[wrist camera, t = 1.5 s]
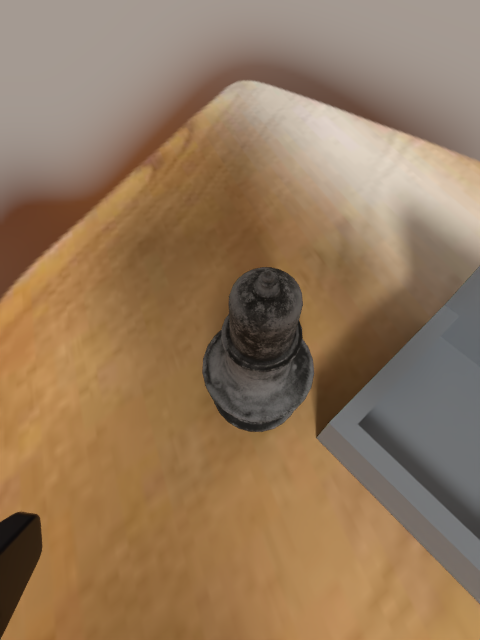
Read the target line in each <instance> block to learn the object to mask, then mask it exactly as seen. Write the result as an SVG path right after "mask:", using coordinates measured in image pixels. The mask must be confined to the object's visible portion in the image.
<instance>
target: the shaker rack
mask: <svg viewBox="0 0 480 640" xmlns="http://www.w3.org/2000/svg"><path fill="white" fill-rule="evenodd" d="M317 439H318V440H319V441H320V442H321V443H322V444H323V445H324V446H325V447H326V448H327V449H328V450H329V451H330V452H331V453H332V454H333V455H334V456H335V457H336V458H337V459H338V460H339V461H340V462H341V463H342V464H343V465H344V466H345V467H346V469H347V470H348V471H349V472H350V473H351V474H352V475H353V476H354V477H355V478H356V479H357V480H358V481H359V482H360V483H361V484H362V485H363V486H364V487H365V488H366V489H367V490H368V491H369V492H370V493H371V494H372V495H373V496H374V497H375V498H376V499H377V500H378V501H379V502H380V503H381V504H382V505H383V506H384V507H385V508H386V509H387V510H388V511H389V512H390V513H391V514H392V515H393V516H394V517H395V518H396V519H397V520H398V521H399V522H400V523H401V524H402V525H403V526H404V527H405V528H406V529H407V530H408V531H409V532H410V533H411V534H412V536H413V537H414V538H415V539H416V540H417V541H418V542H419V543H420V544H421V545H422V546H423V547H424V548H425V549H426V550H427V551H428V552H429V553H430V554H431V555H432V556H433V557H434V558H435V559H436V560H437V561H438V562H439V563H440V564H441V565H442V566H443V567H444V568H445V569H446V570H447V571H448V572H449V573H450V574H451V575H452V576H453V577H454V578H455V579H456V580H457V581H458V582H459V583H460V584H461V585H462V586H463V587H464V588H465V589H466V590H467V591H468V592H469V593H470V594H471V595H472V596H473V597H474V598H475V599H476V600H477V601H478V603H479V604H480V266H479V267H478V268H477V269H476V271H475V272H474V273H473V274H472V275H471V276H470V277H469V278H468V279H467V280H466V282H465V283H464V284H463V285H462V286H461V287H460V288H459V289H458V290H457V292H456V293H455V294H454V295H453V296H452V297H451V298H450V299H449V300H448V302H447V303H446V304H445V305H444V306H443V307H442V308H441V309H440V310H439V311H438V312H437V313H436V314H435V315H434V316H433V317H432V318H431V319H430V320H429V321H428V322H427V323H426V324H425V325H424V326H423V327H422V328H421V329H420V330H419V331H418V332H417V333H416V334H415V335H414V336H413V338H412V339H411V340H410V341H409V342H408V343H407V344H406V345H405V346H404V347H403V348H402V349H401V350H400V351H399V352H398V353H397V354H396V355H395V356H394V357H393V358H392V359H391V360H390V361H389V362H388V363H387V364H386V365H385V366H384V367H383V368H382V369H381V370H380V371H379V372H378V373H377V374H376V375H375V376H374V377H373V378H372V379H371V380H370V381H369V382H368V383H367V384H366V385H365V386H364V387H363V388H362V390H361V391H360V392H359V393H358V394H357V395H356V396H355V397H354V398H353V399H352V400H351V401H350V402H349V403H348V404H347V405H346V406H345V407H344V408H343V409H342V410H341V411H340V412H339V413H338V414H337V415H336V416H335V417H334V418H333V419H332V420H331V421H330V422H329V423H328V424H327V426H326V427H325V428H324V429H323V431H322V432H321V433H320V434H319V435H318V437H317Z"/></svg>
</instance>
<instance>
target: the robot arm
mask: <svg viewBox="0 0 480 640" xmlns="http://www.w3.org/2000/svg"><path fill="white" fill-rule="evenodd" d="M41 552H42V534H41V522H40V517H39V516H38V515H37V514H34V513H27V512H17V513H15V514H13V515H11V516H9V517H8V518H6V519H5V520H3V521H1V522H0V639H1V637H2V635H3V633H4V631H5V629H6V627H7V625H8V623H9V621H10V619H11V617H12V615H13V613H14V610H15V608H16V606H17V604H18V602H19V600H20V598H21V596H22V594H23V592H24V590H25V588H26V585H27V583H28V581H29V579H30V577H31V575H32V573H33V571H34V569H35V567H36V565H37V562H38V560H39V558H40V555H41Z"/></svg>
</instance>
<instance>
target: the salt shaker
mask: <svg viewBox="0 0 480 640" xmlns="http://www.w3.org/2000/svg"><path fill="white" fill-rule="evenodd" d="M302 306H303V301H302V292H301V290H300V287H299V285H298V283H297V282H296V281H295V279H294V278H293V277H291V276H290V275H289V274H288V273H286V272H284V271H281V270H279V269H276V268H271V267H262V268H257V269H253V270H250V271H248V272H246V273H244V274H243V275H242V276H241V277H239V278H238V279H237V281H236V282H235V284H234V285H233V287H232V290H231V293H230V296H229V314H228V316H227V317H226V319H225V321H224V324H223V327H222V330H221V331H219V332H218V333H217V334H216V335H215V336H214V338H213V339H212V340H211V342H210V343H209V345H208V347H207V349H206V352H205V355H204V358H203V377H204V381H205V386H206V388H207V390H208V392H209V393H210V395H211V397H212V399H213V400H214V403H215V405H216V407H217V409H218V411H219V412H220V414H221V415H222V416H223V417H224V418H225V419H226V420H227V421H228V422H229V423H230V424H232V425H234V426H236V427H237V428H239V429H243V430H246V431H250V432H263V431H267V430H270V429H274V428H276V427H277V426H279V425H281V424H282V423H284V422H285V421H286V420H287V419H288V418H289V417H290V416H291V415H292V413H293V411H294V410H295V409H296V408H297V407H298V406H299V405H300V404H301V403H302V402H303V401H304V400H305V398H306V396H307V394H308V392H309V391H310V389H311V386H312V381H313V376H314V367H313V359H312V356H311V353H310V351H309V348H308V346H307V345H306V343H305V342H304V340H303V339H302V327H301V325H300V322H299V318H300V314H301V310H302Z"/></svg>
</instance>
